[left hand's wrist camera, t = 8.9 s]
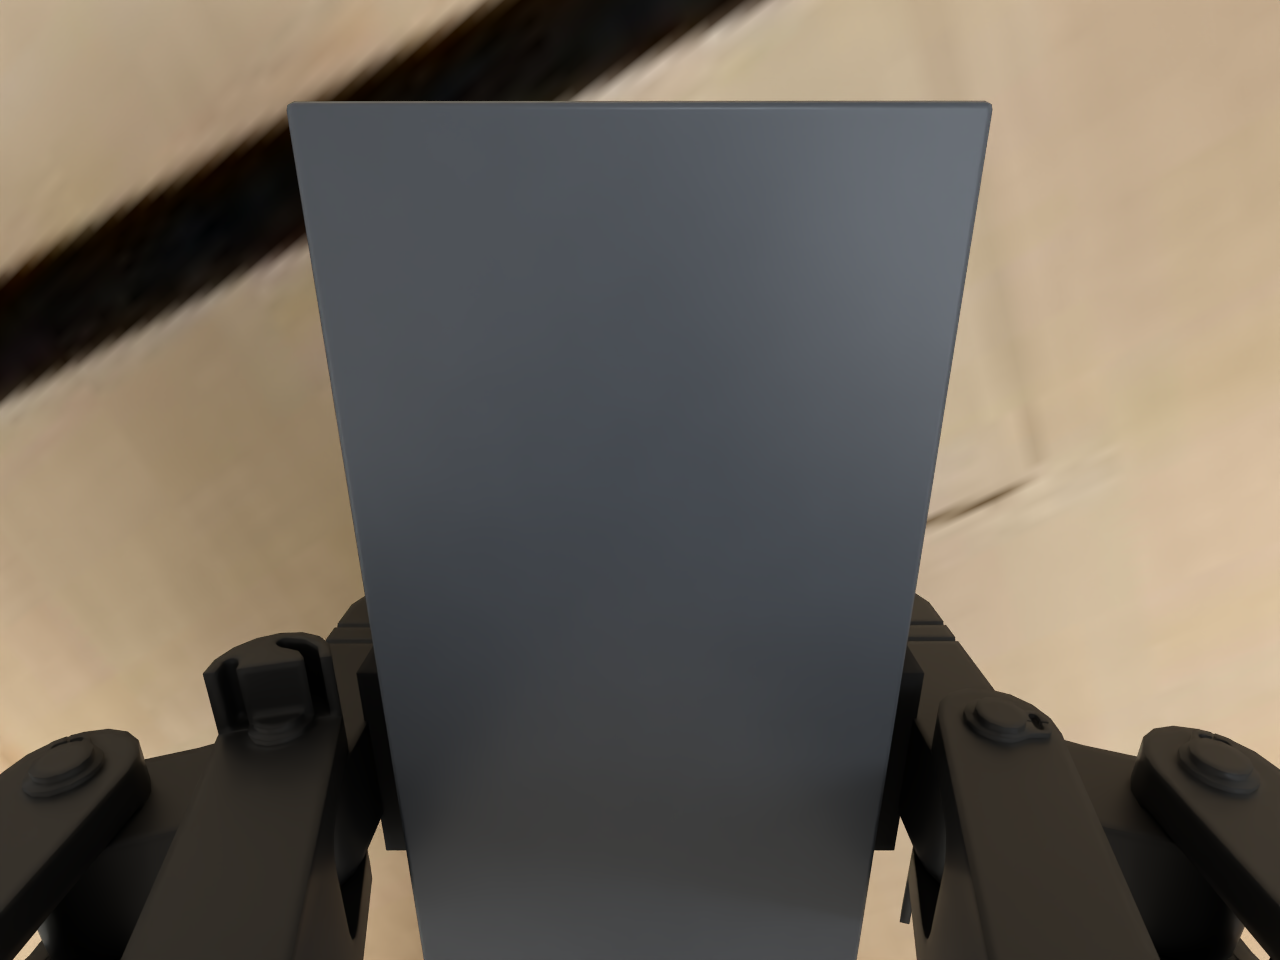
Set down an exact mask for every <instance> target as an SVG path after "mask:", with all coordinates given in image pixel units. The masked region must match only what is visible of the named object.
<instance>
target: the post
mask: <svg viewBox="0 0 1280 960" xmlns="http://www.w3.org/2000/svg"><path fill="white" fill-rule="evenodd" d="M287 115H288V121H289V128H290V134H291V140H292V146H293V152H294V159H295V165H296V171H297V177H298V183H299V190H300V196H301V202H302V208H303V214H304V220H305V227H306V233H307V239H308V245H309V251H310V258H311V264H312V270H313V276H314V282H315V289H316V295H317V301H318V307H319V313H320V319H321V326H322V332H323V338H324V344H325V350H326V357H327V363H328V369H329V375H330V381H331V388H332V394H333V400H334V406H335V412H336V418H337V425H338V431H339V437H340V443H341V449H342V456H343V462H344V468H345V474H346V480H347V487H348V493H349V499H350V505H351V511H352V517H353V524H354V530H355V536H356V542H357V548H358V555H359V561H360V567H361V573H362V579H363V585H364V592H365V598H366V604H367V610H368V616H369V623H370V629H371V635H372V641H373V647H374V654H375V660H376V666H377V672H378V678H379V684H380V691H381V697H382V703H383V709H384V715H385V722H386V728H387V734H388V740H389V746H390V753H391V759H392V765H393V771H394V777H395V783H396V790H397V796H398V802H399V808H400V814H401V821H402V827H403V833H404V839H405V845H406V852H407V858H408V864H409V870H410V876H411V882H412V889H413V895H414V901H415V907H416V913H417V920H418V926H419V932H420V938H421V944H422V951H423V957H424V960H857V954H858V947H859V941H860V935H861V928H862V922H863V916H864V910H865V903H866V897H867V891H868V885H869V878H870V872H871V866H872V860H873V853H874V847H875V841H876V835H877V828H878V822H879V816H880V810H881V803H882V797H883V791H884V785H885V778H886V772H887V766H888V759H889V753H890V747H891V741H892V734H893V728H894V722H895V716H896V709H897V703H898V697H899V691H900V684H901V678H902V672H903V666H904V659H905V653H906V647H907V641H908V634H909V628H910V622H911V616H912V609H913V603H914V597H915V590H916V584H917V578H918V572H919V565H920V559H921V553H922V547H923V540H924V534H925V528H926V522H927V515H928V509H929V503H930V497H931V490H932V484H933V478H934V472H935V465H936V459H937V453H938V447H939V440H940V434H941V428H942V422H943V415H944V409H945V403H946V396H947V390H948V384H949V378H950V371H951V365H952V359H953V353H954V346H955V340H956V334H957V328H958V321H959V315H960V309H961V303H962V296H963V290H964V284H965V278H966V271H967V265H968V259H969V253H970V246H971V240H972V234H973V227H974V221H975V215H976V209H977V202H978V196H979V190H980V184H981V177H982V171H983V165H984V159H985V152H986V146H987V140H988V134H989V127H990V121H991V115H992V104H990V103H988V102H986V101H330V102H292V103H290V104H288V105H287Z"/></svg>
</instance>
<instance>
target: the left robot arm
mask: <svg viewBox="0 0 1280 960" xmlns="http://www.w3.org/2000/svg"><path fill="white" fill-rule="evenodd" d="M203 677H204V680H205V684H206V688H207V692H208V696H209V699H210V703H211V707H212V711H213V715H214V718H215V722H216V726H217V730H218V734H219V735H218V737H217V739H216V742H215V744H211V745H207V746H204V747H200V748H196V749H191V750H187V751H182V752H177V753H173V754H168V755H163V756H159V757H154V758H149V759H144V756H143V753H142V750H141V747H140V744H139V740H138V739H136V738H135V737H134V736H133V735H131V734H130V733H129V732H127V731H120V730H113V729H104V730H96V731H88V732H82V733H78V734H74V735H71V736H69V737H64V738H61V739H59V740H56V741H53V742H51V743H50V744H48V745H46V746H44V747H42V748H40V749H38V750H36V751H34V752H32V753H30V754H28V755H26V756H25V757H23V758H22V759H20V760H19V761H18V762H16V763H15V764H14V765H12V766H11V767H9V768H8V769H7V770H5V771H4V772H3V773H1V774H0V960H13V959H14V958H15V956H16V955H17V954H18V953H19V951H20V950H21V949H22V948H23V947H24V945H25V944H26V943H27V942H28V941H29V939H30V938H31V937H32V936H33V935H34V933H35V932H36V931H37V930H38V932H39V935H40V937H41V939H42V941H41V942H40V943H39V944H38V946H37V947H36V948H35V949H34V951H33V952H32V953H31V954H30V955H29V956H28V957H27V958H26V959H25V960H363V957H364V948H365V939H366V930H367V921H368V911H369V902H370V893H371V884H372V874H371V867H370V861H369V855H368V850H367V849H368V847H369V845H370V842H371V840H372V838H373V835H374V833H375V831H376V828H377V826H378V824H379V821H380V819H381V821H382V827H383V833H384V839H385V845H386V850H406V845H405V839H404V833H403V827H402V821H401V814H400V808H399V802H398V796H397V790H396V783H395V777H394V771H393V765H392V759H391V753H390V746H389V740H388V734H387V728H386V722H385V715H384V709H383V703H382V697H381V691H380V684H379V678H378V672H377V666H376V660H375V654H374V647H373V641H372V635H371V629H370V623H369V616H368V610H367V604H366V598H365V596H364V597H363V598H361V599H360V600H358V601H357V602H355V603H354V604H352V605H351V606H350V608H349V609H348V611H347V612H346V613H345V615H344V616H343V617H342V619H341V620H340V621H339V623H338V627H337V628H334V629H333V631H332V632H331V634H330V635H329V636H328V638H327V639H326V641H325V640H324V639H322V638H321V637H320V636H316V635H312V634H308V633H303V632H297V633H279V634H274V635H269V636H265V637H260V638H256V639H254V640H251V641H249V642H246V643H244V644H241V645H239V646H236V647H234V648H232V649H231V650H229V651H228V652H226V653H225V654H223V655H222V656H220V657H218V658H217V659H215V660H214V661H213V662H212V664H211V665H210V666H209V667H208V668H207V669H206V671H205V672H204V673H203ZM900 817H901V819H902V821H903V824H904V826H905V828H906V831H907V833H908V835H909V838H910V840H911V842H912V845H913V850H912V855H911V861H910V866H909V872H908V877H907V882H906V888H905V893H904V899H903V904H902V910H901V917H900V922H902V923H906V924H909V923H910V917H911V912H912V919H913V928H914V937H915V946H916V955H917V960H1259V959H1258V958H1257V957H1256V956H1255V955H1254V954H1253V953H1252V952H1251V951H1250V949H1249V948H1248V947H1247V946H1246V944H1245V943H1244V942H1243V941H1242V939H1241V938H1240V936H1241V934H1242V932H1243V929H1244V927H1246V929H1247V930H1248V931H1249V932H1250V933H1251V935H1252V936H1253V937H1254V938H1255V939H1256V941H1257V942H1258V943H1259V944H1260V945H1261V947H1262V948H1263V949H1264V950H1265V951H1266V953H1267V954H1268V955H1269V956H1270V959H1269V960H1280V769H1278V768H1277V767H1276V766H1274V765H1273V764H1271V763H1270V762H1269V761H1267V760H1266V759H1264V758H1263V757H1262V756H1260V755H1259V754H1257V753H1256V752H1254V751H1252V750H1250V749H1248V748H1246V747H1244V746H1242V745H1240V744H1238V743H1236V742H1234V741H1232V740H1231V739H1229V738H1226V737H1224V736H1221V735H1218V734H1212V733H1211V732H1208V731H1204V730H1200V729H1194V728H1186V727H1178V726H1169V727H1162V728H1155V729H1153V730H1152V731H1150V732H1149V733H1148V734H1147V735H1145V736H1144V737H1143V740H1142V743H1141V746H1140V749H1139V752H1138V755H1137V757H1136V756H1132V755H1127V754H1122V753H1117V752H1113V751H1108V750H1103V749H1099V748H1094V747H1089V746H1085V745H1081V744H1077V743H1073V742H1070V741H1066V740H1064V738H1063V736H1062V734H1061V732H1060V731H1059V729H1058V728H1057V727H1056V725H1055V724H1054V723H1053V721H1052V720H1051V718H1049V717H1048V716H1047V715H1045V714H1044V713H1043V712H1041V711H1040V710H1039V709H1037V708H1036V707H1035V706H1033V705H1032V704H1030V703H1027V702H1025V701H1023V700H1021V699H1019V698H1017V697H1014V696H1012V695H1010V694H1006V693H1002V692H998V691H995V690H994V689H993V687H992V686H991V685H990V683H989V682H988V681H987V679H986V678H985V677H984V675H983V674H982V673H981V671H980V670H979V669H978V667H977V666H976V665H975V663H974V662H973V661H972V659H971V658H970V657H969V655H968V654H967V653H966V651H965V650H964V649H963V647H962V646H961V644H960V643H959V642H958V641H955V636H954V635H953V634H952V632H951V631H950V630H949V628H948V627H947V626H946V625H943V620H942V619H941V618H940V616H939V615H938V614H937V612H936V611H935V610H934V608H933V607H932V606H931V604H930V603H929V602H928V601H926V600H925V599H923V598H922V597H920V596H919V595H917V594H916V593H915V597H914V603H913V609H912V616H911V622H910V628H909V634H908V641H907V647H906V653H905V659H904V666H903V672H902V678H901V684H900V691H899V697H898V703H897V709H896V716H895V722H894V728H893V734H892V741H891V747H890V753H889V759H888V766H887V772H886V778H885V785H884V791H883V797H882V803H881V810H880V816H879V822H878V828H877V835H876V841H875V847H874V850H894V848H895V842H896V836H897V831H898V825H899V819H900Z"/></svg>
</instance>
